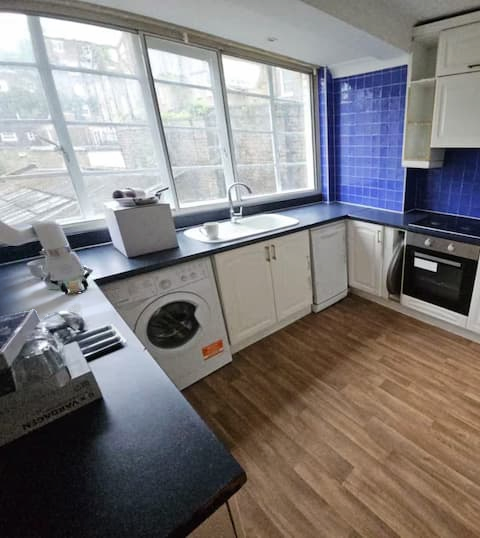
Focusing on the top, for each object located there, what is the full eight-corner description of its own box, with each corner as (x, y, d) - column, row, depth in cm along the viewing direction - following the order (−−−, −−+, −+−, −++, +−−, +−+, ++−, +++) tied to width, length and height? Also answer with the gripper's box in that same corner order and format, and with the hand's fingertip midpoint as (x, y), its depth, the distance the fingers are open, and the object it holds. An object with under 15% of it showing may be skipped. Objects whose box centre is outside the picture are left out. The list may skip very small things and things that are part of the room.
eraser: (82, 292, 125) (78, 284, 124) (71, 295, 123) (68, 286, 122) (82, 288, 130) (79, 280, 128) (73, 290, 128) (69, 282, 126)
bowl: (45, 293, 126) (40, 283, 124) (49, 283, 135) (45, 274, 134) (85, 284, 133) (81, 275, 132) (87, 275, 143) (83, 266, 141)
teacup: (41, 273, 146) (34, 258, 143) (69, 269, 150) (62, 255, 147) (25, 285, 134) (17, 268, 131) (56, 280, 138) (48, 264, 135)
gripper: (26, 258, 112) (48, 300, 119) (85, 248, 121) (102, 287, 129) (30, 253, 117) (50, 293, 124) (86, 244, 127) (102, 282, 134)
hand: (76, 290), depth 126 cm, fingers open, 5 cm apart
